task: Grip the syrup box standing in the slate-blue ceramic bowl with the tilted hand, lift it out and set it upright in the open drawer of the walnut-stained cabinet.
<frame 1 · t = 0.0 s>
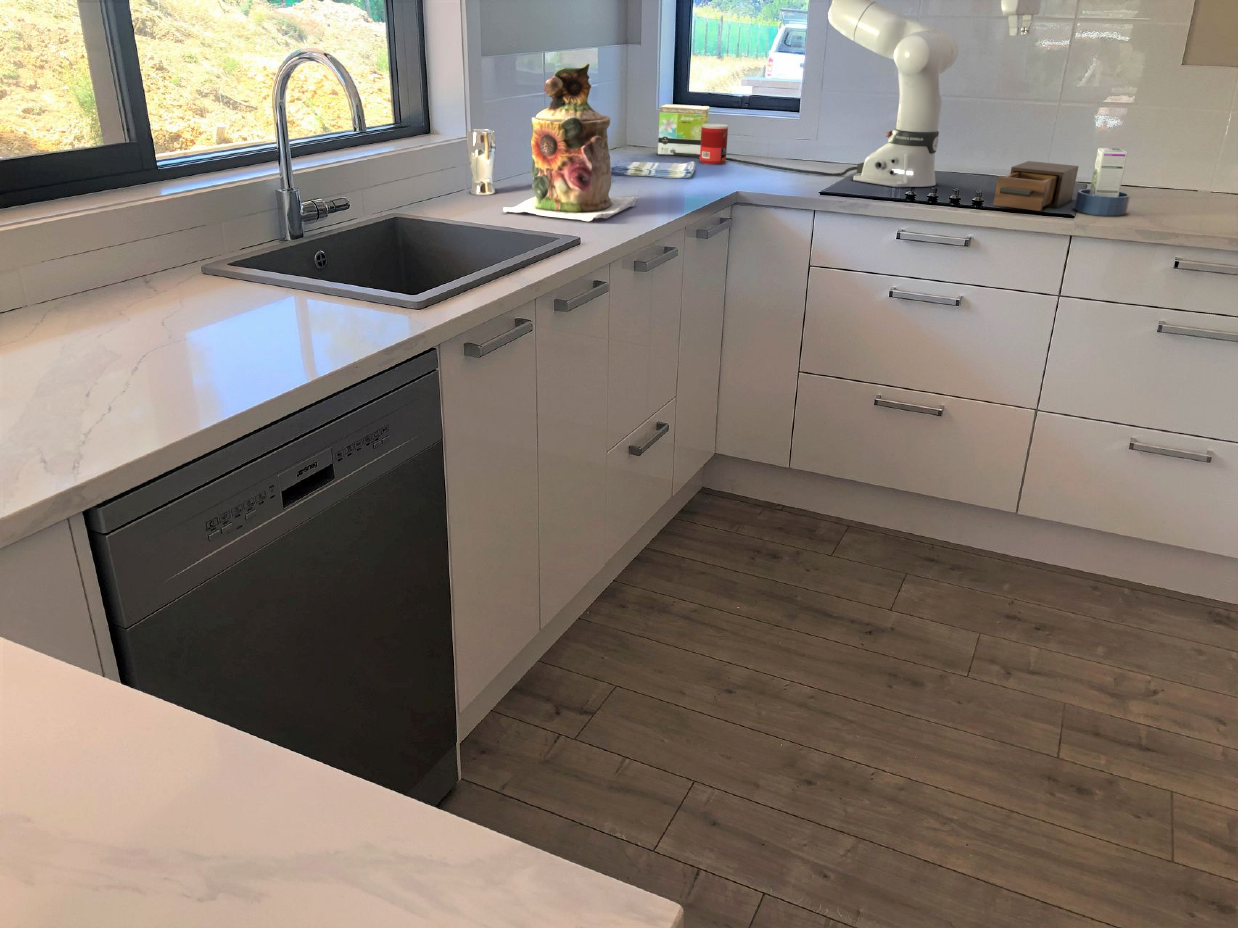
hand: (1019, 35, 252), 39 cm above the countertop, tool pointing down, fingers open, 8 cm apart
canned food: (712, 163, 309), on the countertop
cabinet: (1038, 201, 259), on the countertop
beer glass: (483, 193, 254), on the countertop
syrup box: (1100, 211, 247), resting on bowl
dish towel: (653, 173, 289), on the countertop
bowl: (1099, 211, 247), on the countertop
tea box: (682, 154, 325), on the countertop
drawer: (1024, 191, 246), point 4 cm above the countertop, slide at 11.0 cm
cookie jar: (571, 211, 235), on the countertop
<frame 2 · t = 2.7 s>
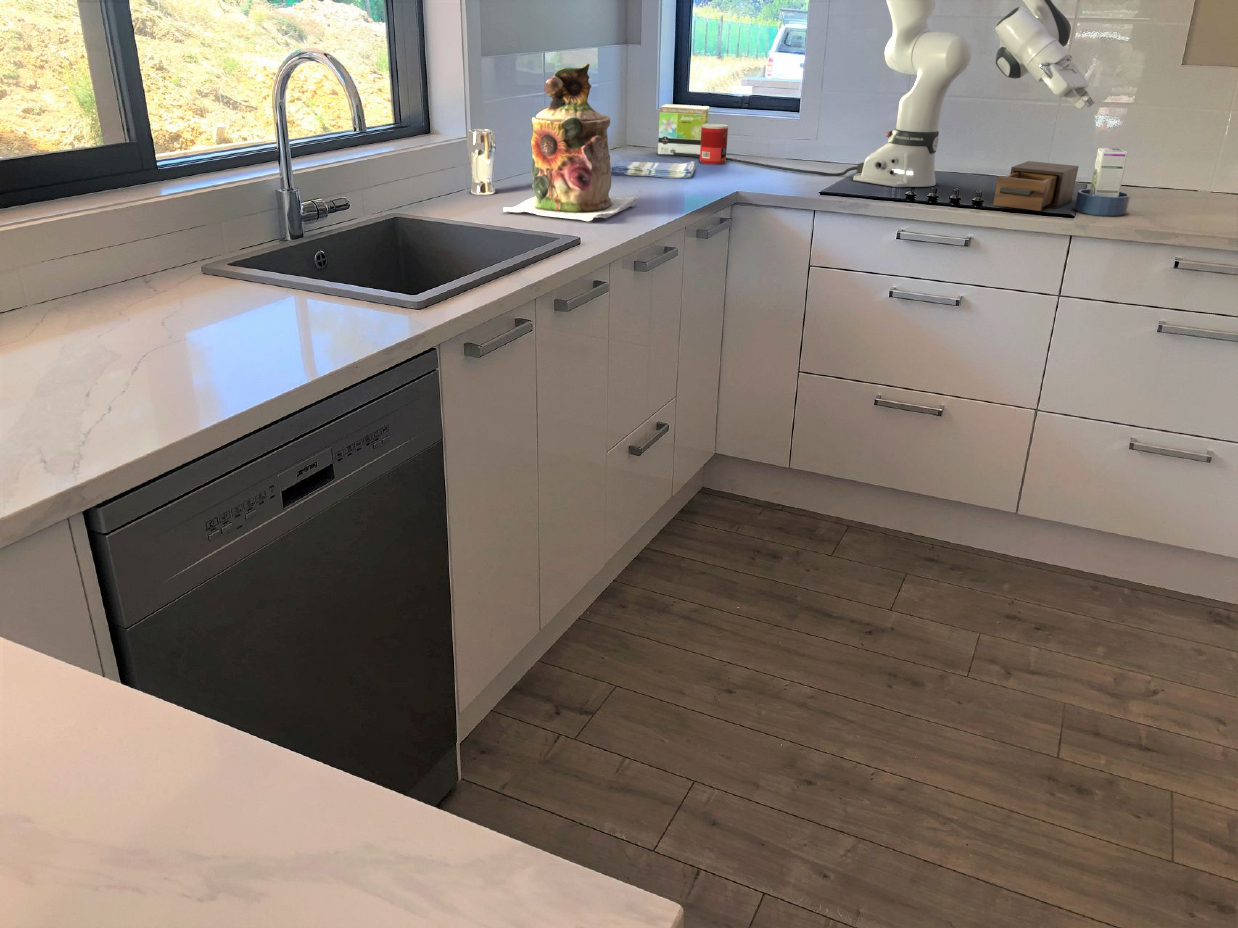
hand: (1087, 106, 242), 24 cm above the countertop, tool tilted 50°, fingers open, 8 cm apart
nothing on the countertop moved.
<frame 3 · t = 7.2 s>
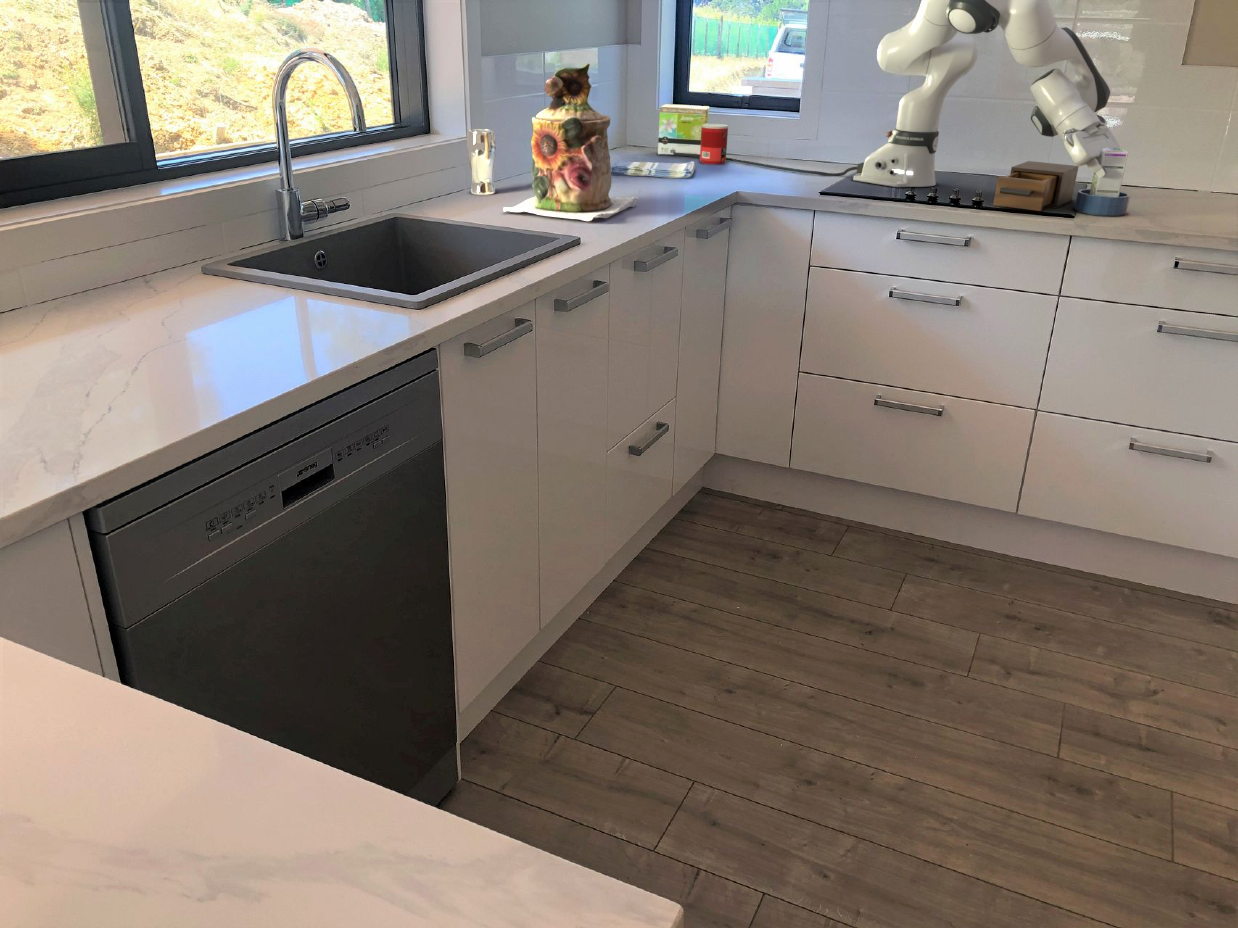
hand: (1111, 174, 243), 9 cm above the countertop, tool tilted 45°, fingers closed on syrup box, 7 cm apart
syrup box: (1100, 211, 247), resting on bowl, touching gripper
everything else where it was.
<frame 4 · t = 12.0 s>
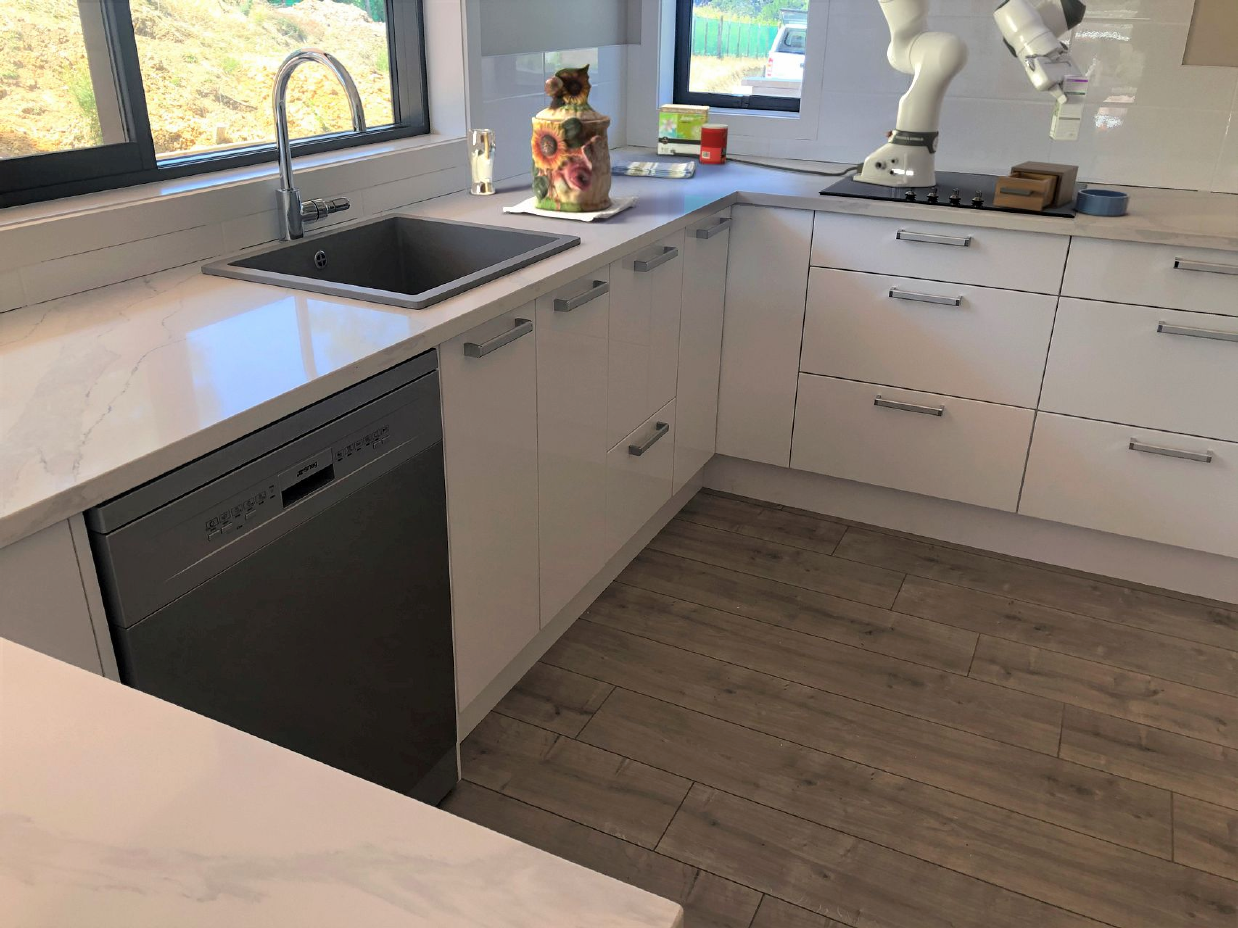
hand: (1073, 101, 239), 25 cm above the countertop, tool tilted 45°, fingers closed on syrup box, 7 cm apart
syrup box: (1062, 140, 243), point 16 cm above the countertop, touching gripper
everything else where it was.
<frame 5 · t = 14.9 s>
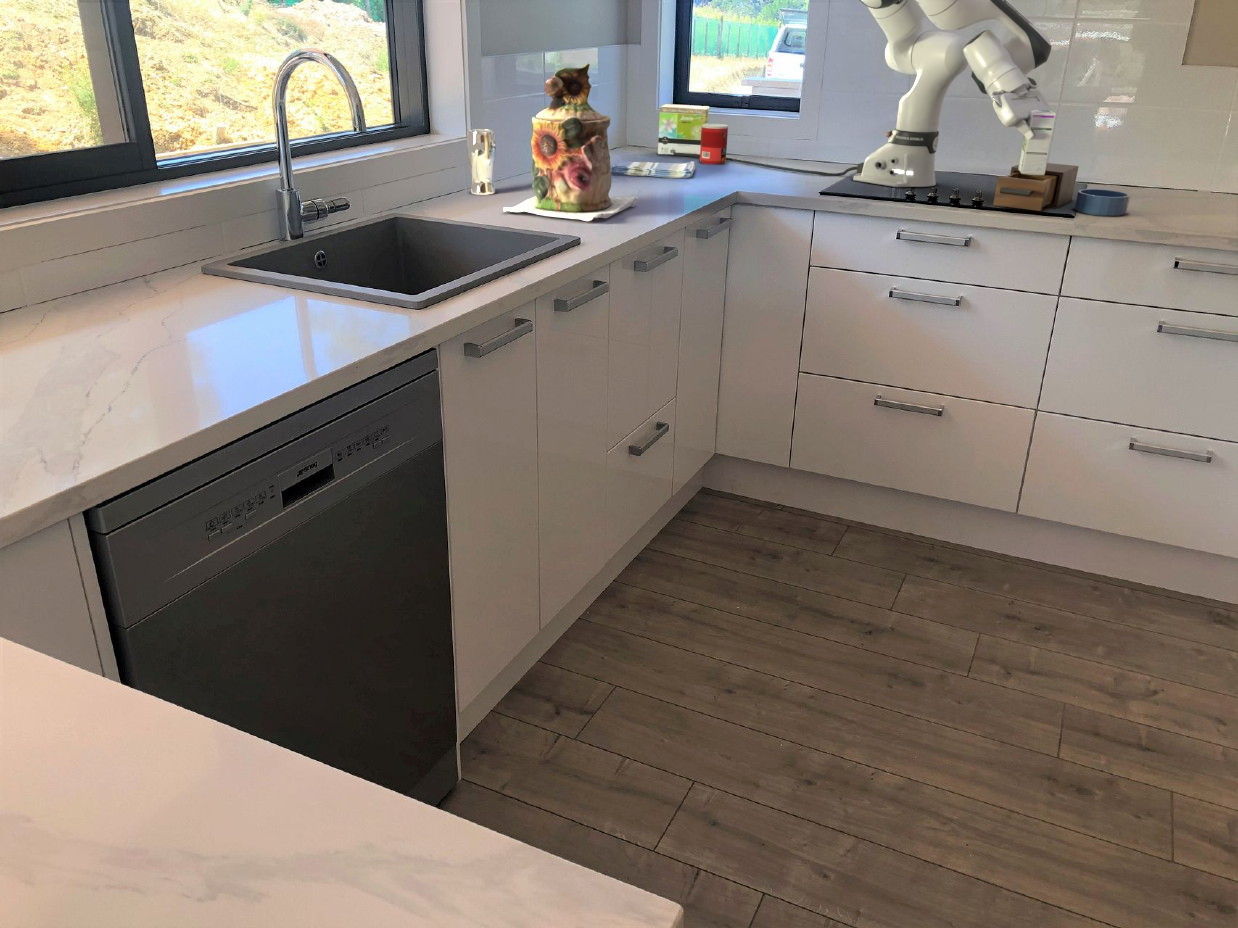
hand: (1040, 136, 243), 17 cm above the countertop, tool tilted 45°, fingers closed on syrup box, 7 cm apart
syrup box: (1030, 173, 247), point 8 cm above the countertop, touching gripper
everything else where it was.
when the fingers open (11 cm above the countertop, at t = 17.4 s): syrup box stays where it is, resting on drawer.
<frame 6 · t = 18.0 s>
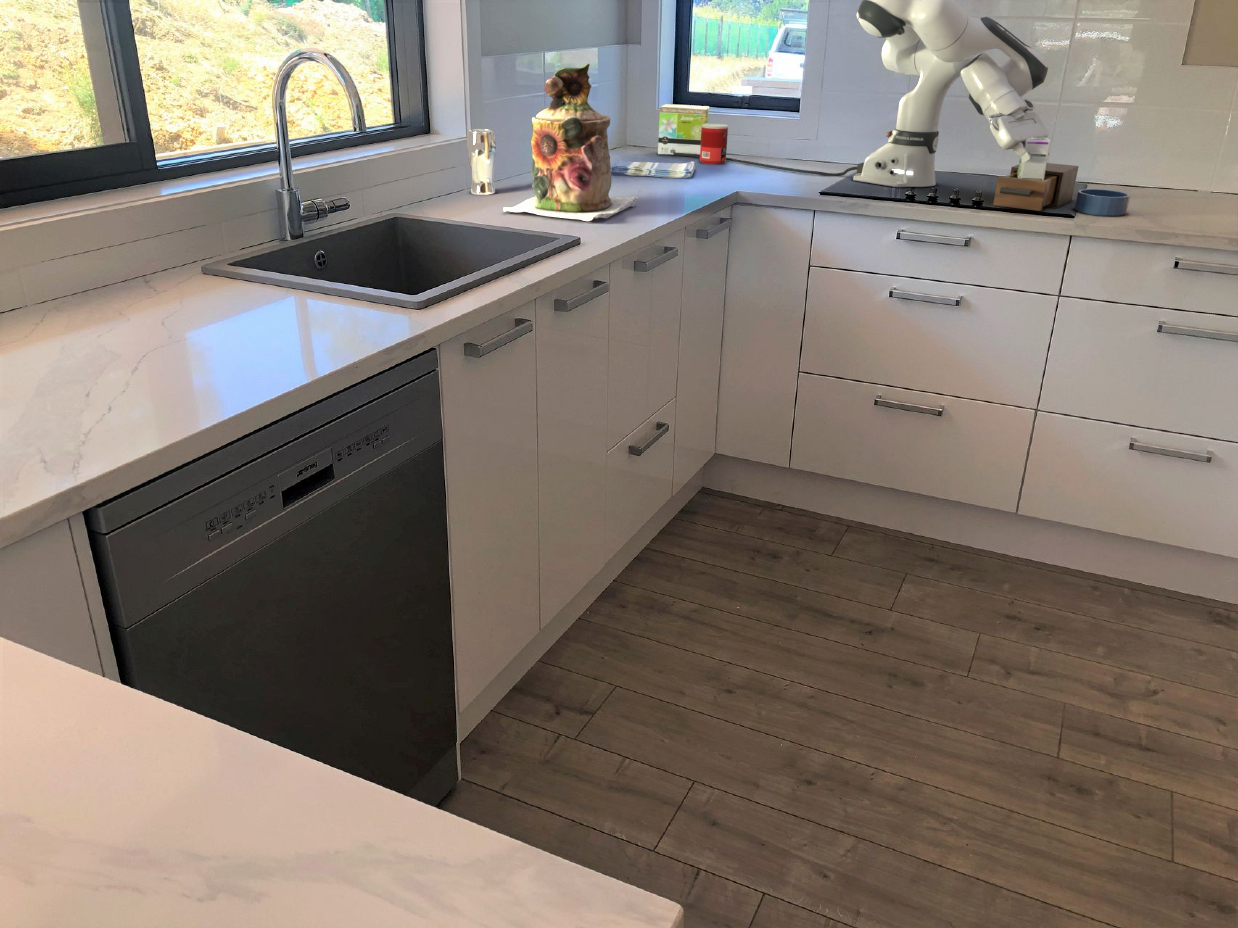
hand: (1037, 158, 246), 12 cm above the countertop, tool tilted 45°, fingers open, 8 cm apart
syrup box: (1026, 199, 250), point 2 cm above the countertop, touching drawer
drawer: (1024, 191, 247), point 4 cm above the countertop, slide at 11.0 cm, touching syrup box
everything else where it was.
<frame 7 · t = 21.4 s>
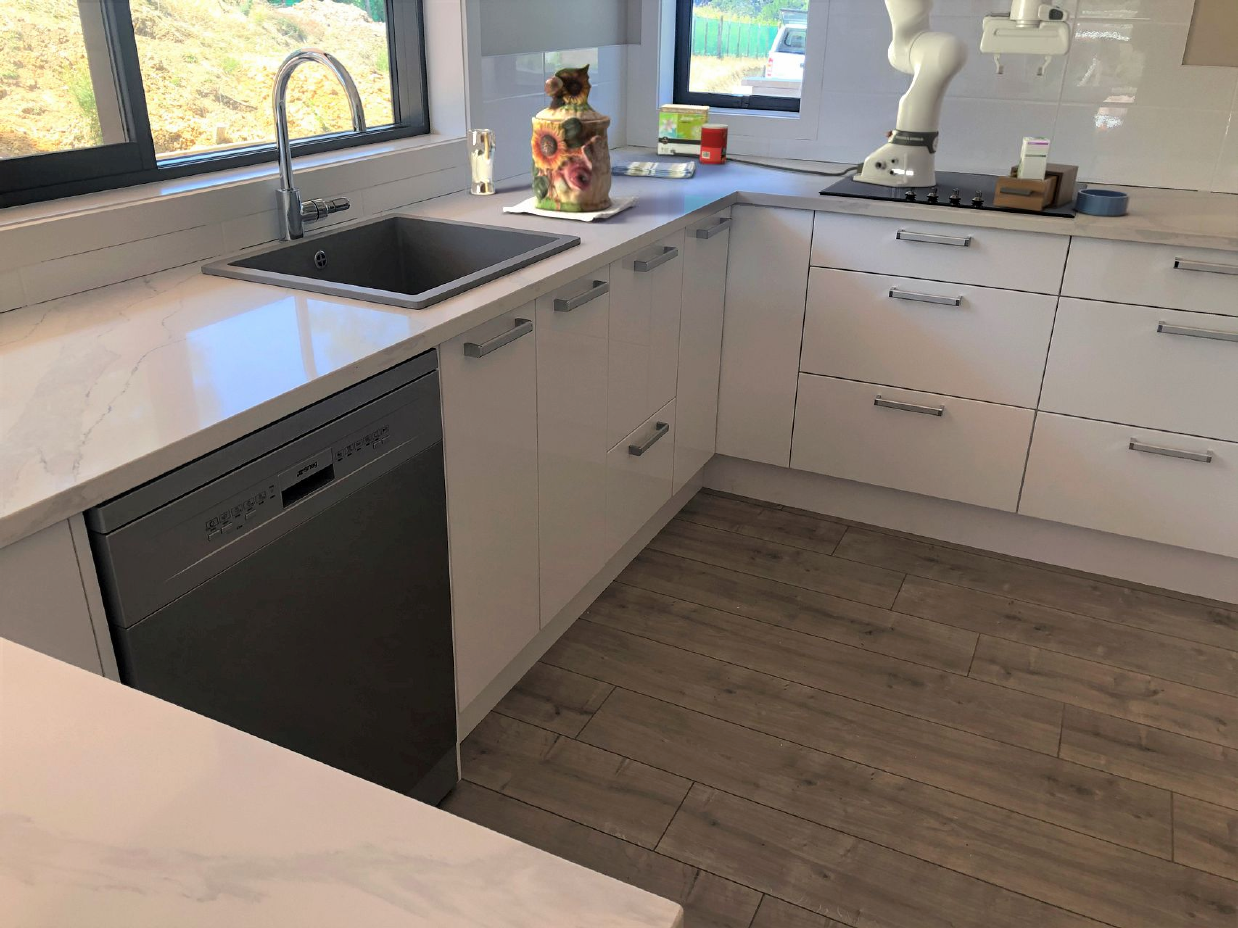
hand: (1019, 74, 245), 30 cm above the countertop, tool pointing down, fingers open, 8 cm apart
nothing on the countertop moved.
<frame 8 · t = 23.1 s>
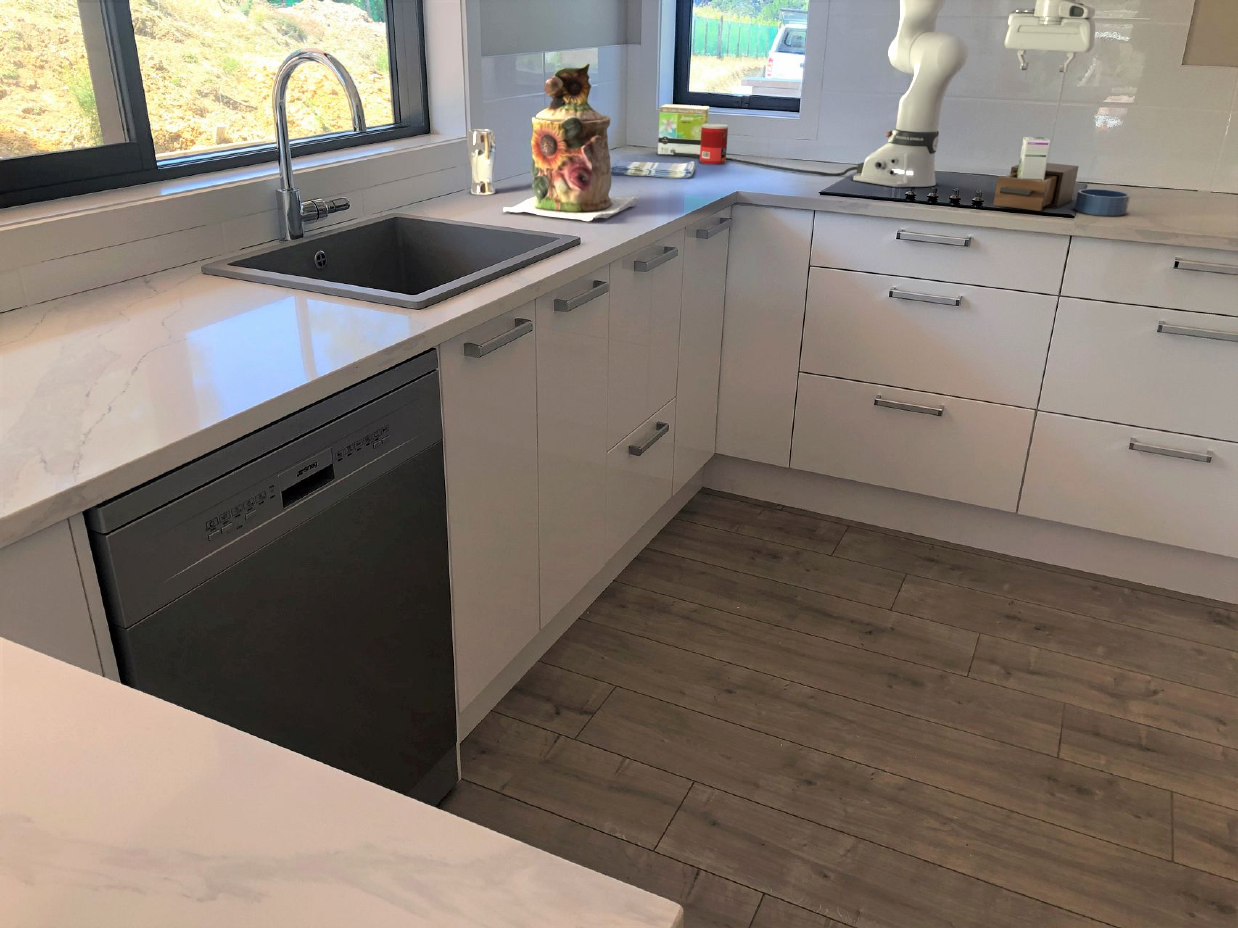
hand: (1043, 71, 246), 31 cm above the countertop, tool pointing down, fingers open, 8 cm apart
nothing on the countertop moved.
at the end: syrup box inside the target area in the drawer (0.3 cm from its centre), point 1.8 cm above the cabinet's base; syrup box tilted 0°; the gripper is holding nothing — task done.
